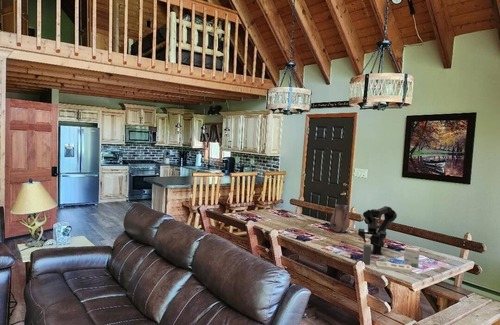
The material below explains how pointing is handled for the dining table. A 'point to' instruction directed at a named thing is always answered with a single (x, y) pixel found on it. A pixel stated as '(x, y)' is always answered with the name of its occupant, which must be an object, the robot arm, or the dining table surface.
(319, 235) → the dining table surface
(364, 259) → the charger plug
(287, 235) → the dining table surface
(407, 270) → the power strip
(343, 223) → the ceramic pitcher
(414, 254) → the ink box
